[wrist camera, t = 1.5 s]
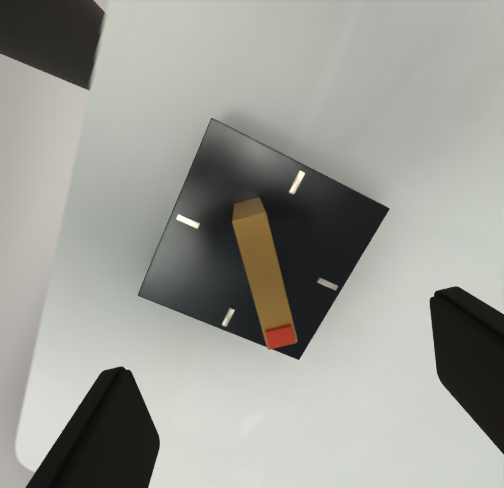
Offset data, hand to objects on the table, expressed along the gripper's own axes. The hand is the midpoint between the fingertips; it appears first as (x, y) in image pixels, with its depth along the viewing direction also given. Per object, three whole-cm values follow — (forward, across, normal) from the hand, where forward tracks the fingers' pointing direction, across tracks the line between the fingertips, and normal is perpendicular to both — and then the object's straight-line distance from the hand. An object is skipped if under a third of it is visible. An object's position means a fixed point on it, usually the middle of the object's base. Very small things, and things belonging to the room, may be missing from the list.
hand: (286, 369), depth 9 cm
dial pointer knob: (+11, 0, 0) cm, 11 cm away
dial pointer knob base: (+14, 0, 0) cm, 14 cm away
